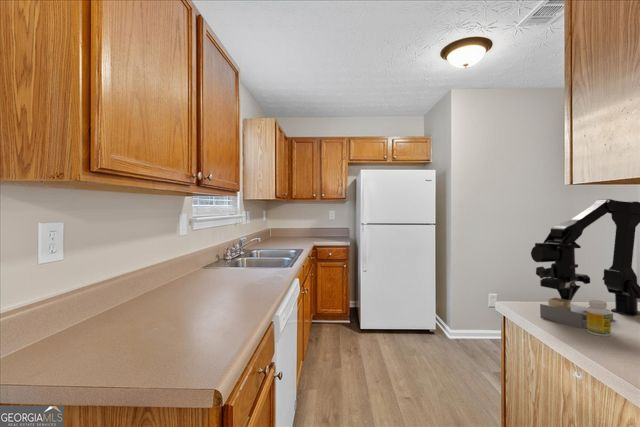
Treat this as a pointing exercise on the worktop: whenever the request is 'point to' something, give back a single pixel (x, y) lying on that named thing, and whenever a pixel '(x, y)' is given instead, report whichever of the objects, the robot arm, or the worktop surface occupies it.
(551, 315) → the trap board
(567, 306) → the maple block
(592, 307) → the supplement bottle
